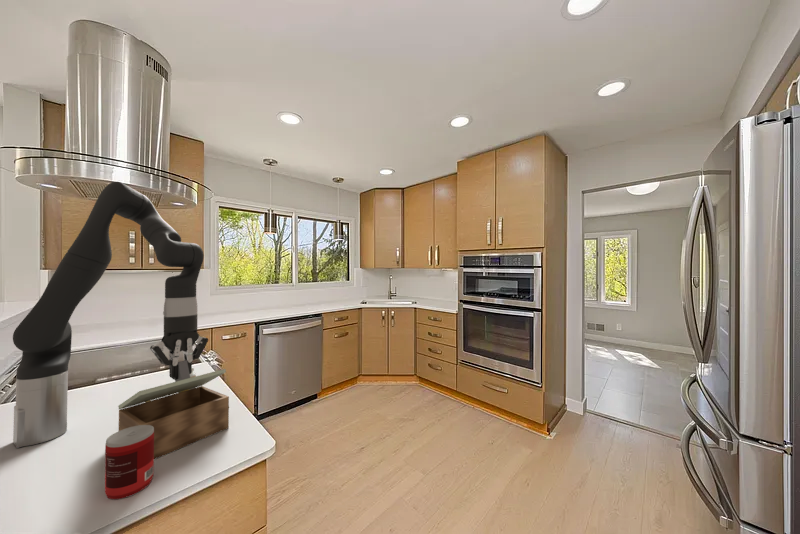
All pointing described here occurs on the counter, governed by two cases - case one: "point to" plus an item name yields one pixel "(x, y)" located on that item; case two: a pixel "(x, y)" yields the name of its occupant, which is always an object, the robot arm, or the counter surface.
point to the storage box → (179, 418)
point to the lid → (172, 386)
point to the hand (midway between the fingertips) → (180, 377)
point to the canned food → (129, 461)
